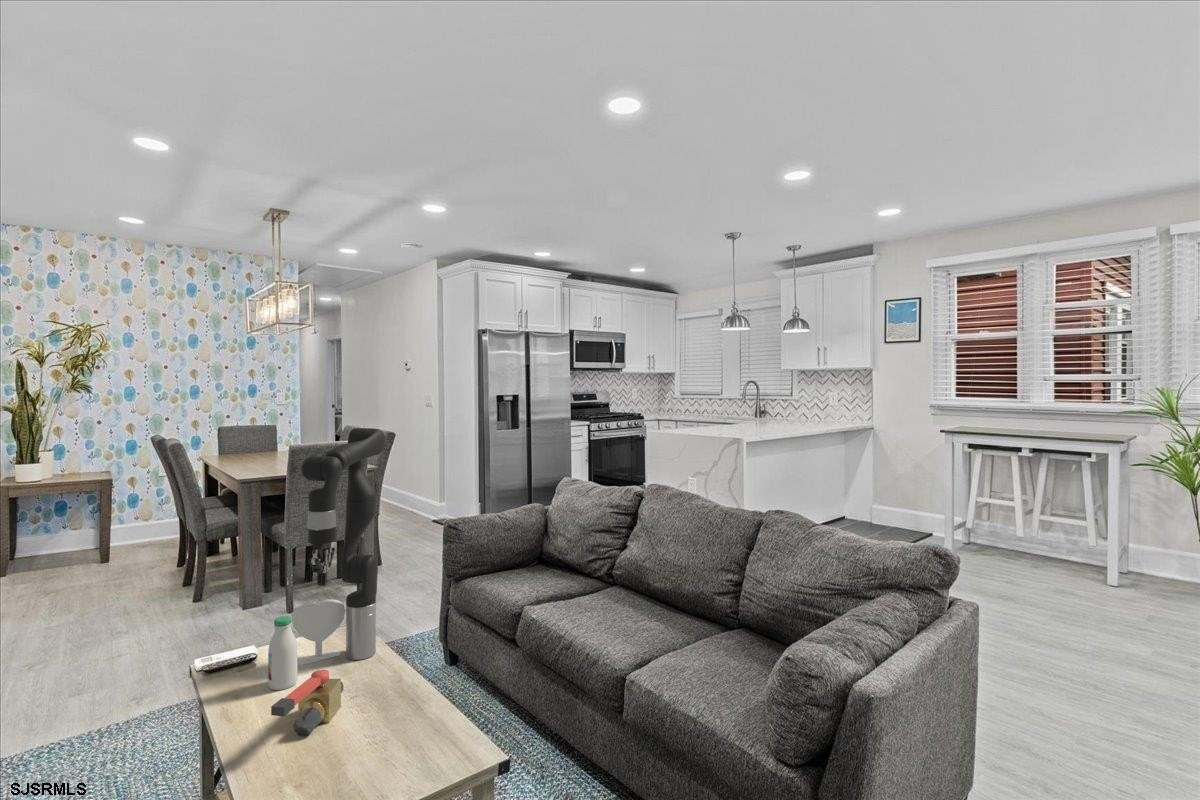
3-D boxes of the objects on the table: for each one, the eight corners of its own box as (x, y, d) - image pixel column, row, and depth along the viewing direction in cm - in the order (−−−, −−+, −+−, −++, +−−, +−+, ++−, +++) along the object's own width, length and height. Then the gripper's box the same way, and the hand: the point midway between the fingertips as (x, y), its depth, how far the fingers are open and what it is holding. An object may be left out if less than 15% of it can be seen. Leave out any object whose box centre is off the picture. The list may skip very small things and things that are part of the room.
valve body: (320, 696, 175) (320, 665, 175) (348, 695, 175) (348, 665, 175) (287, 736, 155) (287, 701, 155) (319, 735, 155) (319, 701, 155)
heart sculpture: (341, 648, 206) (341, 596, 206) (345, 653, 202) (345, 600, 202) (291, 660, 197) (291, 605, 196) (294, 666, 193) (294, 610, 192)
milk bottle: (302, 678, 185) (302, 614, 184) (287, 691, 177) (287, 624, 177) (278, 677, 186) (278, 612, 185) (262, 690, 178) (262, 622, 177)
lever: (317, 676, 167) (317, 668, 167) (332, 677, 167) (332, 669, 167) (269, 715, 148) (269, 706, 148) (285, 716, 147) (285, 707, 147)
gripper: (318, 520, 181) (318, 577, 182) (298, 531, 168) (298, 593, 168) (344, 520, 181) (344, 577, 182) (325, 531, 168) (325, 592, 169)
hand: (322, 584), depth 175 cm, fingers closed
